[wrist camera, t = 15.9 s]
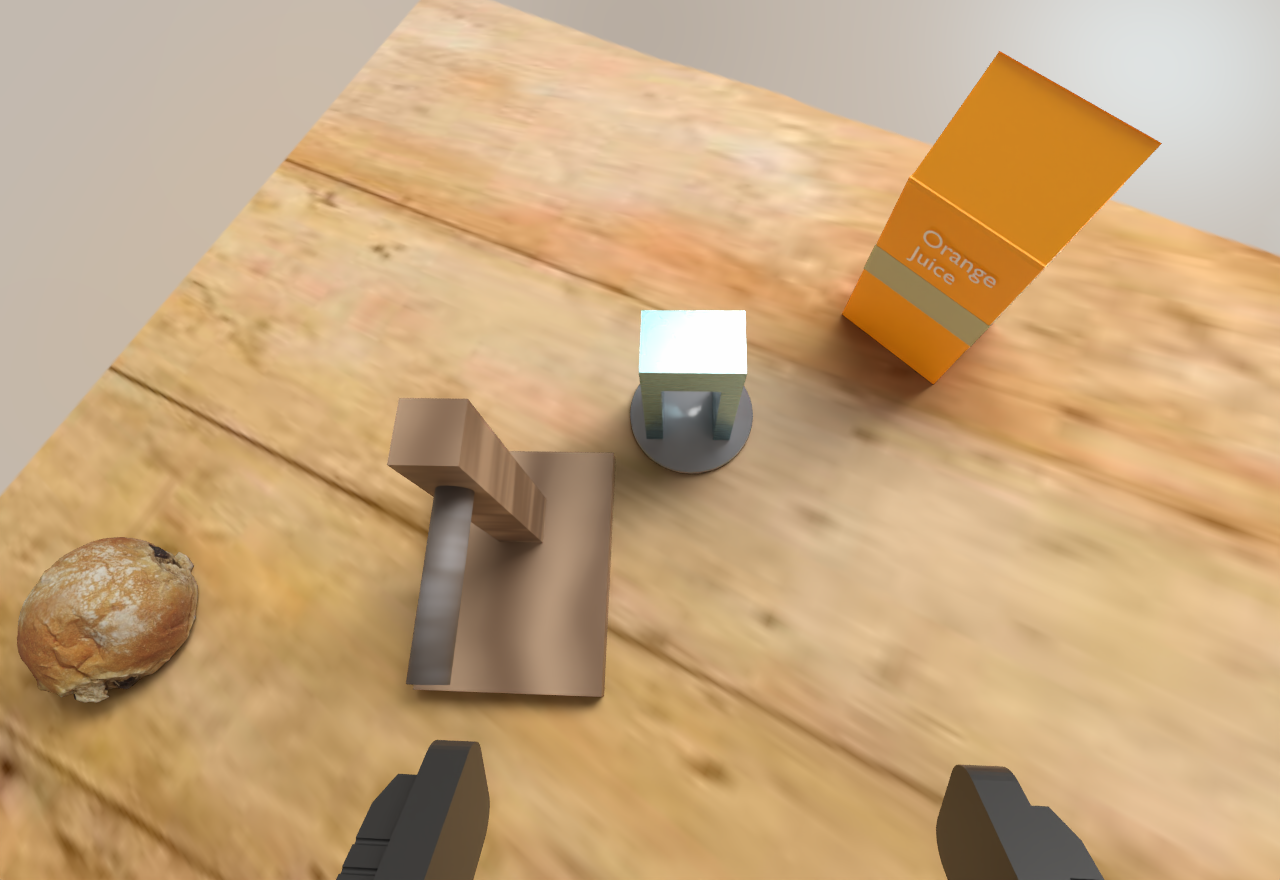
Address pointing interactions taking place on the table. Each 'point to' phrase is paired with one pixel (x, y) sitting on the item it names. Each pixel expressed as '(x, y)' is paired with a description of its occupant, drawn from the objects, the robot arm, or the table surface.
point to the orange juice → (989, 213)
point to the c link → (692, 363)
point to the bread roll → (106, 617)
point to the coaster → (691, 432)
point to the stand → (506, 557)
